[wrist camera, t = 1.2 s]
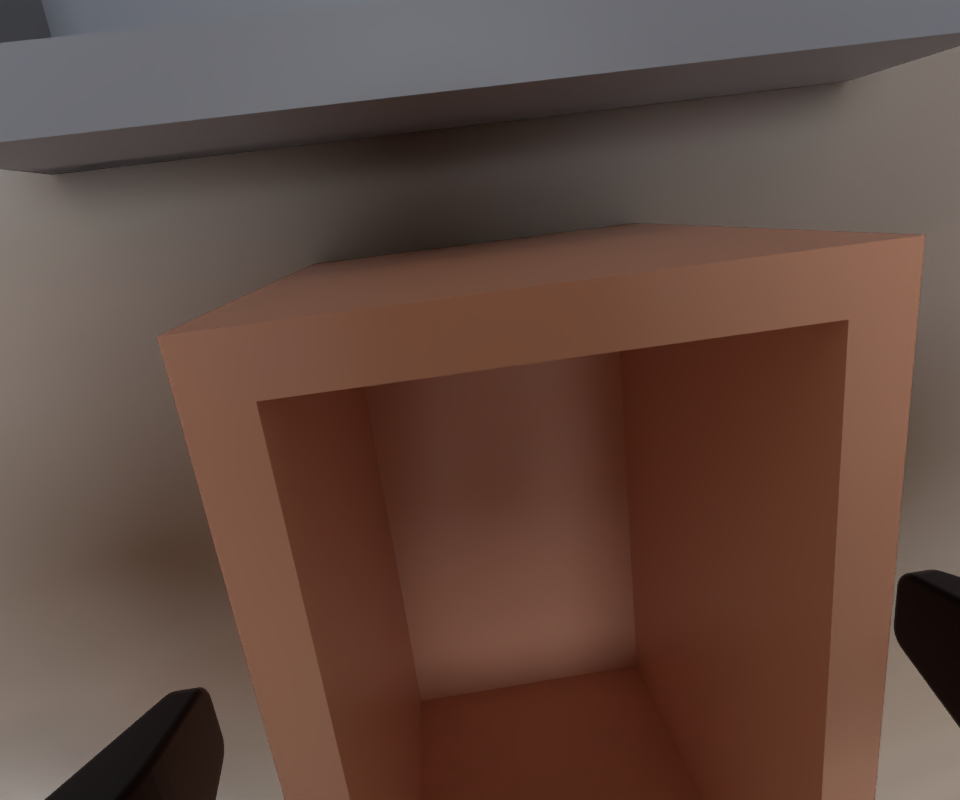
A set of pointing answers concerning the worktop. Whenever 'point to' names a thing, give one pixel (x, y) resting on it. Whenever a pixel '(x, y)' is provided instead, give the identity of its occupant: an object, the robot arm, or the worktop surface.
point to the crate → (402, 66)
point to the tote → (564, 511)
